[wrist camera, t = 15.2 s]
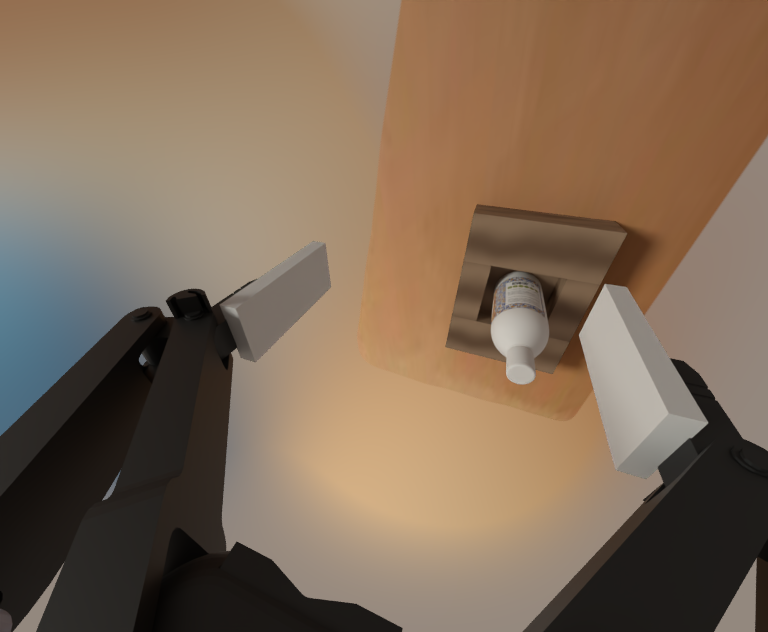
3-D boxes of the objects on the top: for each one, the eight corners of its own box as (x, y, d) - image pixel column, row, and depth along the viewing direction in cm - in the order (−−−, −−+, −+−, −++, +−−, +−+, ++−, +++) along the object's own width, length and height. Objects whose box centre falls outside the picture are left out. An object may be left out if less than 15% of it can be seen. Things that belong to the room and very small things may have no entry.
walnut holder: (477, 204, 43) (473, 213, 39) (615, 221, 39) (627, 233, 35) (449, 331, 57) (445, 347, 53) (549, 355, 52) (552, 374, 49)
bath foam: (488, 276, 47) (478, 354, 32) (535, 264, 44) (549, 345, 28) (500, 312, 50) (496, 400, 35) (545, 302, 47) (563, 396, 31)
